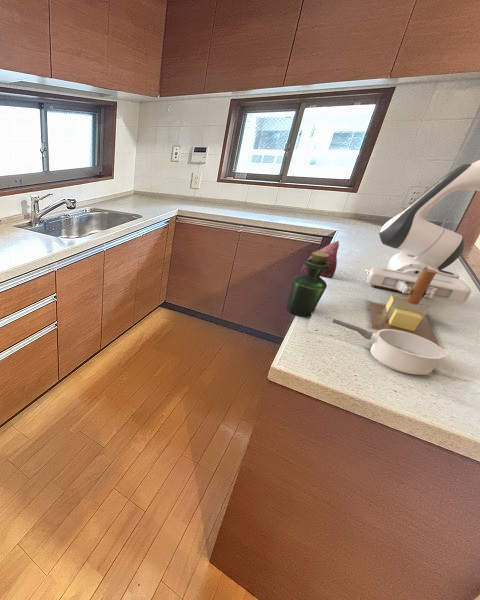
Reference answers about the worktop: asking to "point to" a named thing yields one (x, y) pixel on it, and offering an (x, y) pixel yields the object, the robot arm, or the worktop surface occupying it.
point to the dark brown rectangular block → (387, 289)
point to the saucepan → (398, 358)
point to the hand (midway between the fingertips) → (418, 293)
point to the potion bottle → (308, 287)
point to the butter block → (392, 301)
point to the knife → (414, 296)
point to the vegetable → (327, 260)
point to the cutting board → (383, 323)
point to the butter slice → (405, 319)
